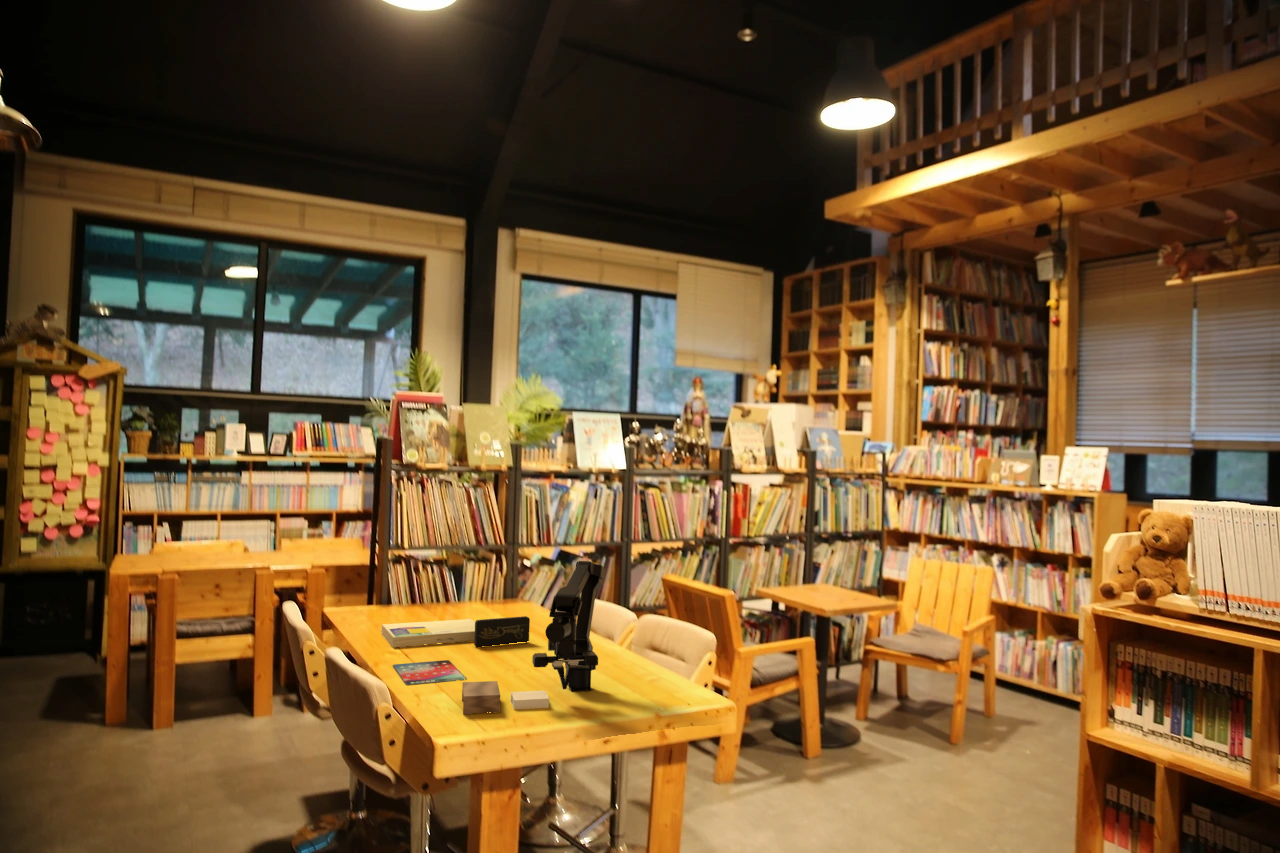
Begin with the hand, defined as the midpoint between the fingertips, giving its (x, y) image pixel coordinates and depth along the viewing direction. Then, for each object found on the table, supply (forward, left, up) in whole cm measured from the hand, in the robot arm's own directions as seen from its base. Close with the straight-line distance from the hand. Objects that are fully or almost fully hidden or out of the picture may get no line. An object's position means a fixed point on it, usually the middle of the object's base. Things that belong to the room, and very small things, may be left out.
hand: (564, 688), depth 241 cm
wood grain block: (+24, 0, -4) cm, 24 cm away
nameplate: (+13, -74, -4) cm, 75 cm away
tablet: (+39, -38, -5) cm, 55 cm away
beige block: (+10, 0, -4) cm, 11 cm away
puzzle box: (+38, -89, -5) cm, 97 cm away
